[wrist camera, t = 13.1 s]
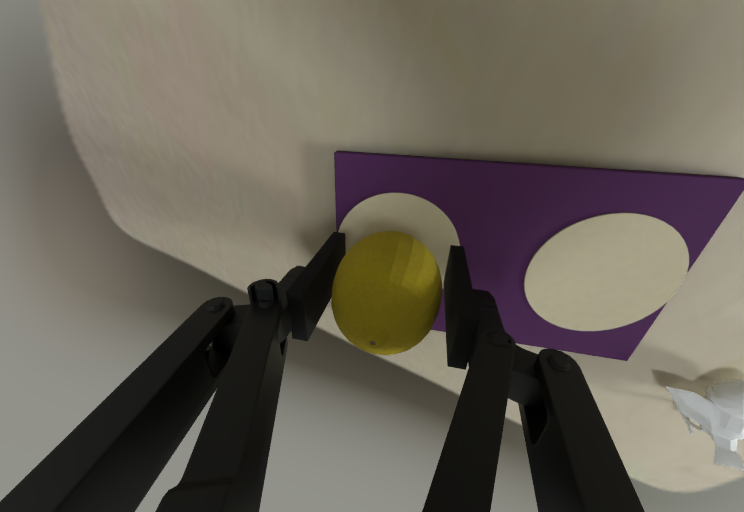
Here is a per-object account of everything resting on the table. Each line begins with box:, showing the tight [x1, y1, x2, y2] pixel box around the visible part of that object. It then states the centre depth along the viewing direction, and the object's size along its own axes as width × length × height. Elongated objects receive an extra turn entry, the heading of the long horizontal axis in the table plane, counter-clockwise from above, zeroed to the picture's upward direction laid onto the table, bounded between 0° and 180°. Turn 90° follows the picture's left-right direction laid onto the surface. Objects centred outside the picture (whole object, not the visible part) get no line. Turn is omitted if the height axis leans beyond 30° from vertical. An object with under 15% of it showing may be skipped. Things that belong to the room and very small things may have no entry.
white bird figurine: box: [666, 379, 744, 471], centre depth 17 cm, size 8×5×5 cm, turn 82°
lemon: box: [332, 231, 442, 355], centre depth 14 cm, size 6×6×8 cm
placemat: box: [334, 151, 744, 361], centre depth 17 cm, size 12×20×1 cm, turn 88°
